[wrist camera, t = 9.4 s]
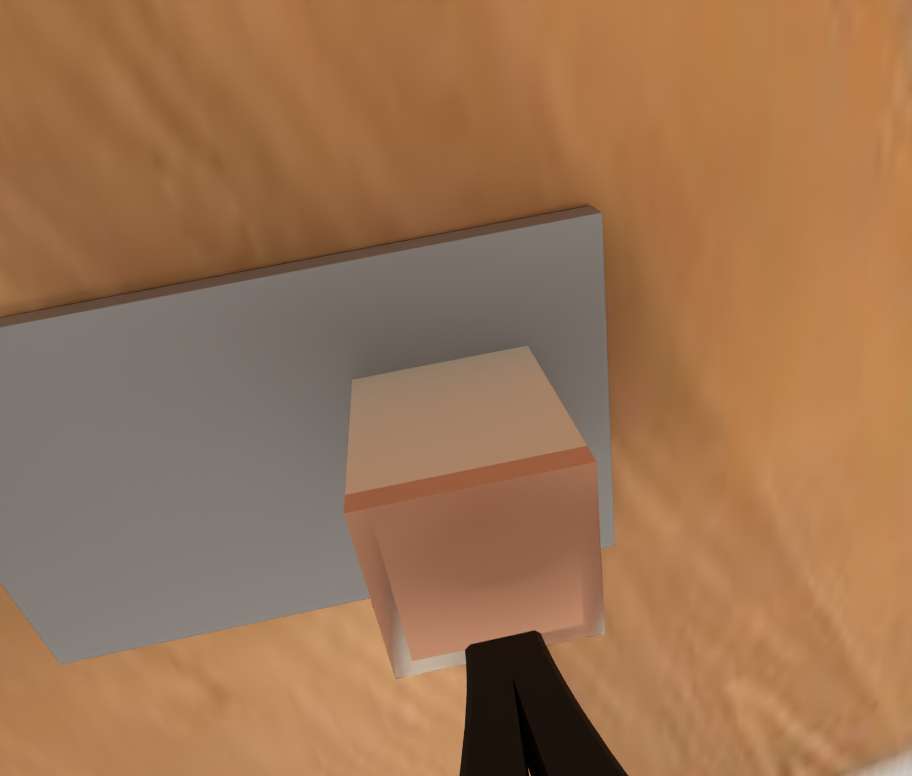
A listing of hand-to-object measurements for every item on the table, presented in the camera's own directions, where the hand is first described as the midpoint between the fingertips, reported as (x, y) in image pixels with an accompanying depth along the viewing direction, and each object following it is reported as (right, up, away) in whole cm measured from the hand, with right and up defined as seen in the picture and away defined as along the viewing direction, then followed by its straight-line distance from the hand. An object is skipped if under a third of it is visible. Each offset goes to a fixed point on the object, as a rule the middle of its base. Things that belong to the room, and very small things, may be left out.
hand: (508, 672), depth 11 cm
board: (-6, +3, +8) cm, 11 cm away
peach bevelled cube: (-1, +4, +7) cm, 8 cm away
